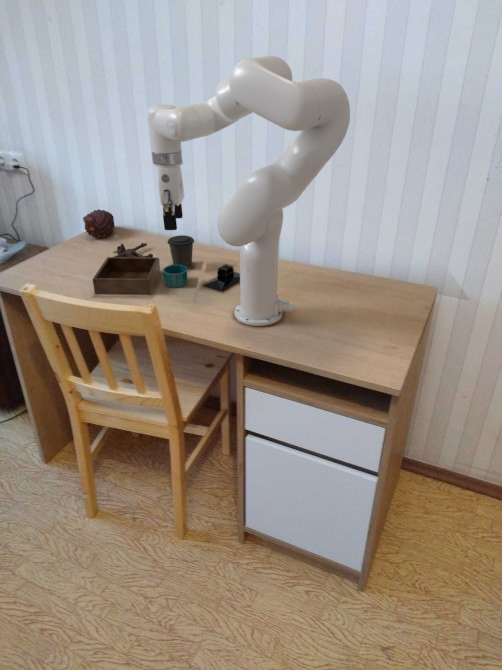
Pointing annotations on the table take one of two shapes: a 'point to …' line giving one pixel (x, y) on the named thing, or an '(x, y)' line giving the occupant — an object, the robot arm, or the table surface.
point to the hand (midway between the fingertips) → (173, 223)
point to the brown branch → (130, 251)
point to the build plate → (224, 279)
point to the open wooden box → (127, 276)
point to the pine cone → (99, 223)
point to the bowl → (175, 275)
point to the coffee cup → (181, 250)
